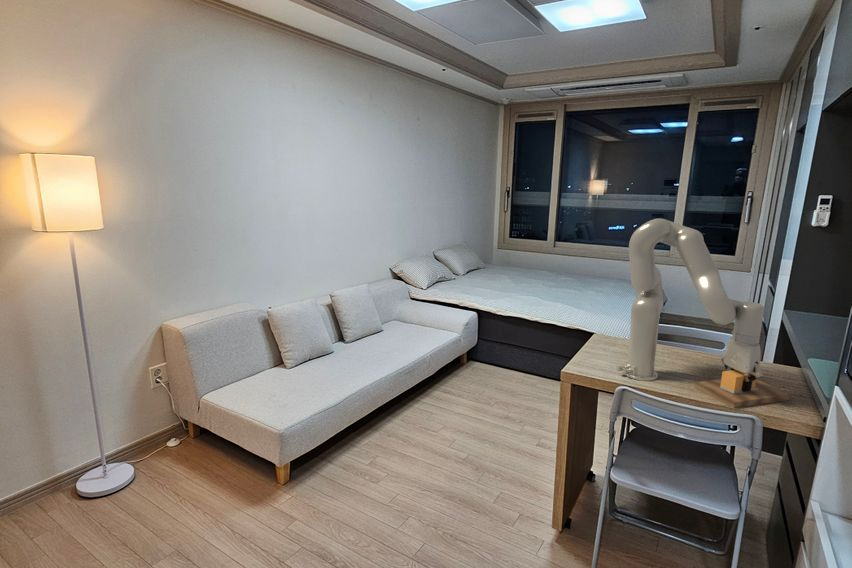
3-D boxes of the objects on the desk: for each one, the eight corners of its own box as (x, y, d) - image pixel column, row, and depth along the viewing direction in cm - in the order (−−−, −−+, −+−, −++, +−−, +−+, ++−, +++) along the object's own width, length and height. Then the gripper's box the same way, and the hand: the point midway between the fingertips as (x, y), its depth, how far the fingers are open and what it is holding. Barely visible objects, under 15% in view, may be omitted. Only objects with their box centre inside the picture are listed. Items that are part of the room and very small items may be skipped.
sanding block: (733, 393, 151) (736, 377, 150) (720, 387, 156) (722, 371, 155) (754, 389, 155) (757, 373, 153) (740, 383, 159) (743, 368, 158)
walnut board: (733, 408, 146) (734, 402, 145) (694, 387, 161) (695, 382, 161) (790, 399, 151) (791, 394, 151) (747, 380, 167) (748, 375, 166)
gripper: (715, 331, 159) (708, 378, 163) (760, 347, 143) (752, 399, 146) (732, 329, 160) (725, 376, 164) (779, 345, 144) (770, 397, 148)
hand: (738, 386), depth 155 cm, fingers closed on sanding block, 5 cm apart
